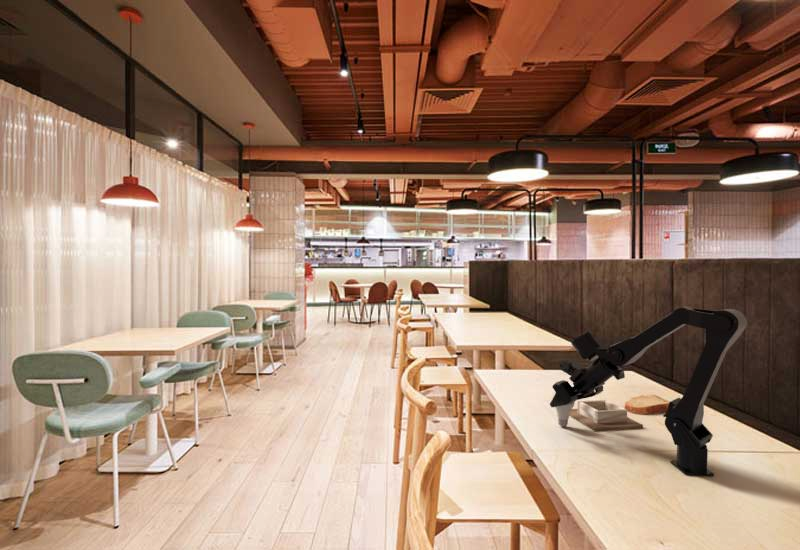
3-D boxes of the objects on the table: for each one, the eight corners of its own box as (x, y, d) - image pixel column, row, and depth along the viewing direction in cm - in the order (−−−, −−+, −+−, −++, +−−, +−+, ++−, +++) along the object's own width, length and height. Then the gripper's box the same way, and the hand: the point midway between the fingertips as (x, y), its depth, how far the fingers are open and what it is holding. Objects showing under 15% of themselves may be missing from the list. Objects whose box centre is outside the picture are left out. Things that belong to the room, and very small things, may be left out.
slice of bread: (627, 414, 141) (628, 403, 141) (618, 398, 158) (618, 388, 158) (691, 421, 135) (691, 409, 135) (674, 404, 152) (674, 393, 152)
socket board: (642, 428, 128) (643, 413, 128) (594, 431, 125) (594, 415, 125) (607, 410, 144) (607, 396, 144) (563, 412, 141) (564, 398, 141)
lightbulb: (575, 431, 125) (576, 393, 124) (553, 429, 126) (554, 392, 126) (571, 424, 131) (572, 388, 130) (550, 422, 132) (551, 386, 132)
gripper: (594, 347, 130) (560, 375, 139) (559, 354, 119) (525, 384, 128) (620, 378, 124) (582, 406, 133) (586, 389, 113) (547, 418, 122)
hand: (559, 402), depth 129 cm, fingers open, 9 cm apart
